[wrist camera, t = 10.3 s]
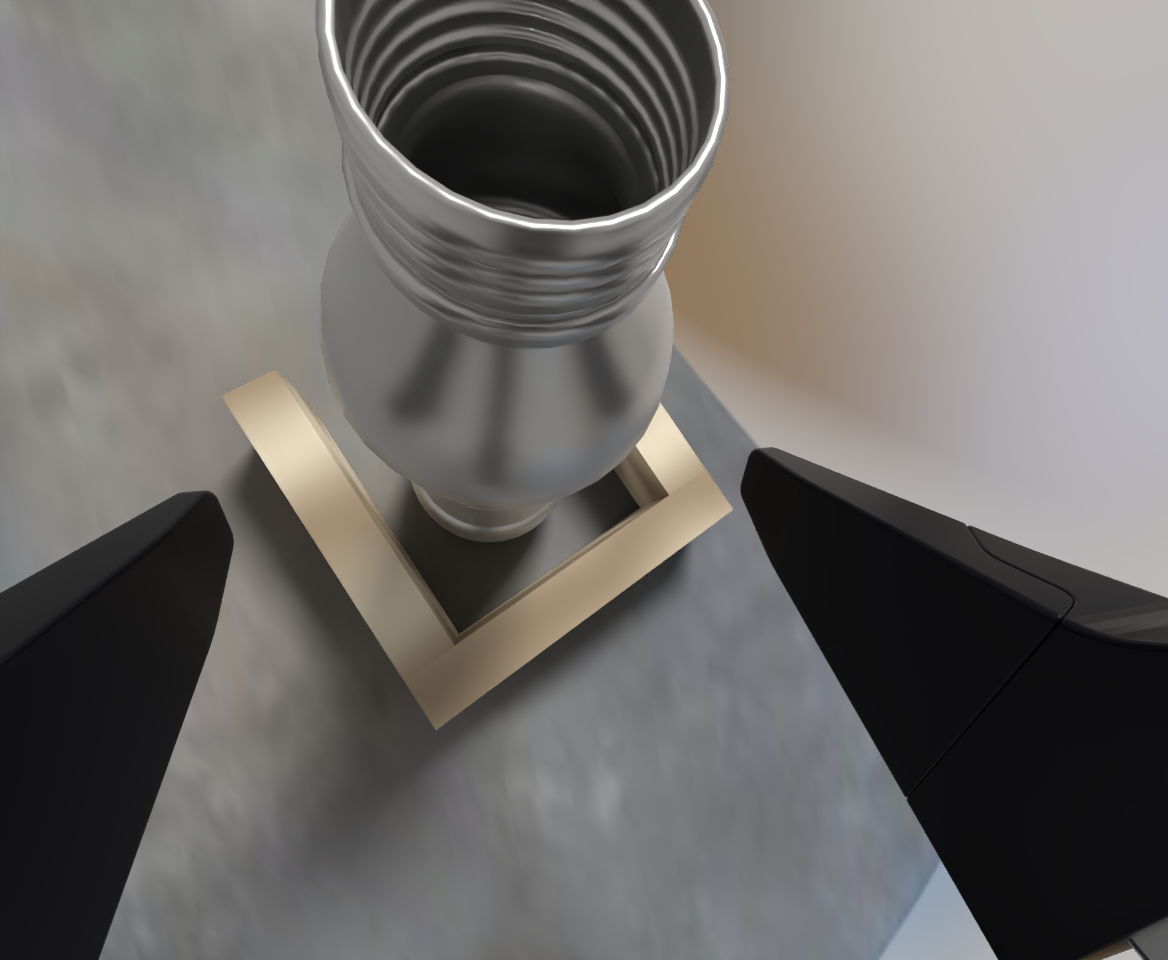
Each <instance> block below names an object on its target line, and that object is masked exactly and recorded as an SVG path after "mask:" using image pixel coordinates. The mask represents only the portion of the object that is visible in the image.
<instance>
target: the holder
mask: <svg viewBox="0 0 1168 960" xmlns="http://www.w3.org/2000/svg"><path fill="white" fill-rule="evenodd" d="M222 398H223V399H224V401H225V403H226V404H227V406H228V407H229V409H230V410H231V412H232V413H233V415H234V417H235V418H236V420H237V421H238V423H239V424H240V426H241V427H242V429H243V431H244V432H245V434H246V435H247V437H248V438H249V440H250V442H251V443H252V445H253V446H254V448H255V449H256V451H257V452H258V454H259V456H260V457H261V459H262V460H263V462H264V463H265V465H266V467H267V468H268V470H269V471H270V473H271V474H272V476H273V477H274V479H275V481H276V482H277V484H278V485H279V487H280V488H281V490H282V491H283V493H284V495H285V496H286V498H287V499H288V501H289V502H290V504H291V506H292V507H293V509H294V510H295V512H296V513H297V515H298V516H299V518H300V520H301V521H302V523H303V524H304V526H305V527H306V529H307V531H308V532H309V534H310V535H311V537H312V538H313V540H314V541H315V543H316V545H317V546H318V548H319V549H320V551H321V552H322V554H323V555H324V557H325V559H326V560H327V562H328V563H329V565H330V566H331V568H332V570H333V571H334V573H335V574H336V576H337V577H338V579H339V580H340V582H341V584H342V585H343V587H344V588H345V590H346V591H347V593H348V595H349V596H350V598H351V599H352V601H353V602H354V604H355V605H356V607H357V609H358V610H359V612H360V613H361V615H362V616H363V618H364V619H365V621H366V623H367V624H368V626H369V627H370V629H371V630H372V632H373V634H374V635H375V637H376V638H377V640H378V641H379V643H380V644H381V646H382V648H383V649H384V651H385V652H386V654H387V655H388V657H389V659H390V660H391V662H392V663H393V665H394V666H395V668H396V669H397V671H398V673H399V674H400V676H401V677H402V679H403V680H404V682H405V683H406V685H407V687H408V688H409V690H410V691H411V693H412V694H413V696H414V698H415V699H416V701H417V702H418V704H419V705H420V707H421V708H422V710H423V712H424V713H425V715H426V716H427V718H428V719H429V721H430V723H431V724H432V726H433V727H434V729H435V730H437V729H439V728H440V727H441V726H443V725H444V724H445V723H447V722H448V721H449V720H451V719H452V718H453V717H455V716H456V715H457V714H459V713H460V712H461V711H463V710H464V709H465V708H467V707H468V706H469V705H471V704H472V703H474V702H475V701H476V700H478V699H479V698H480V697H482V696H483V695H484V694H486V693H487V692H488V691H490V690H491V689H492V688H494V687H495V686H496V685H498V684H499V683H500V682H502V681H503V680H504V679H506V678H507V677H509V676H510V675H511V674H513V673H514V672H515V671H517V670H518V669H519V668H521V667H522V666H523V665H525V664H526V663H527V662H529V661H530V660H531V659H533V658H534V657H535V656H537V655H538V654H539V653H541V652H542V651H543V650H545V649H546V648H548V647H549V646H550V645H552V644H553V643H554V642H556V641H557V640H558V639H560V638H561V637H562V636H564V635H565V634H566V633H568V632H569V631H570V630H572V629H573V628H574V627H576V626H577V625H578V624H580V623H581V622H583V621H584V620H585V619H587V618H588V617H589V616H591V615H592V614H593V613H595V612H596V611H597V610H599V609H600V608H601V607H603V606H604V605H605V604H607V603H608V602H609V601H611V600H612V599H613V598H615V597H616V596H618V595H619V594H620V593H622V592H623V591H624V590H626V589H627V588H628V587H630V586H631V585H632V584H634V583H635V582H636V581H638V580H639V579H640V578H642V577H643V576H644V575H646V574H647V573H648V572H650V571H651V570H652V569H654V568H655V567H657V566H658V565H659V564H661V563H662V562H663V561H665V560H666V559H667V558H669V557H670V556H671V555H673V554H674V553H675V552H677V551H678V550H679V549H681V548H682V547H683V546H685V545H686V544H687V543H689V542H690V541H692V540H693V539H694V538H696V537H697V536H698V535H700V534H701V533H702V532H704V531H705V530H706V529H708V528H709V527H710V526H712V525H713V524H714V523H716V522H717V521H718V520H720V519H721V518H722V517H724V516H725V515H726V514H728V513H729V512H731V511H732V510H733V508H732V507H731V506H730V504H729V503H728V501H727V500H726V498H725V497H724V495H723V494H722V492H721V491H720V489H719V488H718V487H717V485H716V484H715V482H714V481H713V479H712V478H711V476H710V475H709V473H708V472H707V470H706V469H705V468H704V466H703V465H702V463H701V462H700V460H699V459H698V457H697V456H696V454H695V453H694V451H693V450H692V448H691V447H690V446H689V444H688V443H687V441H686V440H685V438H684V437H683V435H682V434H681V432H680V431H679V429H678V428H677V427H676V425H675V424H674V422H673V421H672V419H671V418H670V416H669V415H668V413H667V412H666V410H665V409H664V408H663V406H662V405H661V403H659V407H658V409H657V411H656V413H655V415H654V417H653V419H652V421H651V423H650V424H649V426H648V428H647V430H646V432H645V434H644V436H643V437H642V438H641V440H640V441H639V442H638V443H637V444H636V446H635V447H634V448H633V449H632V451H631V452H630V453H629V454H628V456H627V457H626V458H625V459H624V460H623V461H622V462H621V463H620V464H618V465H617V466H616V467H615V468H613V469H614V470H615V472H616V473H617V475H618V476H619V478H620V479H621V481H622V482H623V484H624V485H625V487H626V488H627V490H628V491H629V493H630V494H631V495H632V497H633V498H634V500H635V501H636V503H637V504H638V506H639V507H640V508H639V509H638V510H636V511H635V512H633V513H632V514H630V515H629V516H627V517H626V518H625V519H623V520H622V521H620V522H619V523H617V524H616V525H615V526H613V527H612V528H610V529H609V530H607V531H606V532H604V533H603V534H602V535H600V536H599V537H597V538H596V539H594V540H593V541H592V542H590V543H589V544H587V545H586V546H584V547H583V548H582V549H580V550H579V551H577V552H576V553H574V554H573V555H571V556H570V557H569V558H567V559H566V560H564V561H563V562H561V563H560V564H559V565H557V566H556V567H554V568H553V569H551V570H550V571H549V572H547V573H546V574H544V575H543V576H541V577H540V578H538V579H537V580H536V581H534V582H533V583H531V584H530V585H528V586H527V587H526V588H524V589H523V590H521V591H520V592H518V593H517V594H516V595H514V596H513V597H511V598H510V599H508V600H507V601H505V602H504V603H503V604H501V605H500V606H498V607H497V608H495V609H494V610H493V611H491V612H490V613H488V614H487V615H485V616H484V617H483V618H481V619H480V620H478V621H477V622H475V623H474V624H472V625H471V626H470V627H468V628H467V629H465V630H464V631H462V632H461V633H460V634H459V633H458V631H457V630H456V628H455V627H454V625H453V624H452V622H451V621H450V619H449V617H448V616H447V614H446V613H445V611H444V610H443V608H442V607H441V605H440V604H439V602H438V600H437V599H436V597H435V596H434V594H433V593H432V591H431V590H430V588H429V587H428V585H427V584H426V582H425V580H424V579H423V577H422V576H421V574H420V573H419V571H418V570H417V568H416V567H415V565H414V563H413V562H412V560H411V559H410V557H409V556H408V554H407V553H406V551H405V550H404V548H403V547H402V545H401V543H400V542H399V540H398V539H397V537H396V536H395V534H394V533H393V531H392V530H391V528H390V527H389V525H388V523H387V522H386V520H385V519H384V517H383V516H382V514H381V513H380V511H379V510H378V508H377V506H376V505H375V503H374V502H373V500H372V499H371V497H370V496H369V494H368V493H367V491H366V490H365V488H364V486H363V485H362V483H361V482H360V480H359V479H358V477H357V476H356V474H355V473H354V471H353V469H352V468H351V466H350V465H349V463H348V462H347V460H346V459H345V457H344V456H343V454H342V453H341V451H340V449H339V448H338V446H337V445H336V443H335V442H334V440H333V439H332V437H331V436H330V434H329V433H328V431H327V429H326V428H325V426H324V425H323V423H322V422H321V420H320V419H319V417H318V416H317V414H316V412H315V411H314V409H313V408H312V406H311V405H310V404H309V403H308V402H307V401H306V400H305V399H304V398H303V397H302V396H301V395H300V394H299V393H298V392H297V391H296V390H295V389H294V388H293V387H292V386H291V385H290V384H289V383H288V381H287V380H286V379H285V378H284V377H283V376H282V375H281V374H280V373H279V372H278V371H277V370H276V369H275V370H273V371H271V372H269V373H267V374H265V375H263V376H261V377H259V378H257V379H255V380H253V381H251V382H249V383H247V384H245V385H243V386H241V387H239V388H237V389H235V390H233V391H231V392H229V393H226V394H224V395H222Z"/></svg>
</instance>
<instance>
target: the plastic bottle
mask: <svg viewBox="0 0 1168 960" xmlns="http://www.w3.org/2000/svg"><path fill="white" fill-rule="evenodd" d="M316 35H317V39H318V57H319V61H320V66H321V70H322V74H323V78H324V83H325V87H326V91H327V96H328V99H329V102H330V105H331V108H332V111H333V114H334V117H335V120H336V123H337V127H338V130H339V134H340V137H341V140H342V169H343V173H344V178H345V182H346V186H347V190H348V195H349V199H350V203H351V206H352V210H351V211H350V212H349V214H348V215H347V216H346V218H345V219H344V220H343V222H342V224H341V226H340V228H339V231H338V233H337V235H336V237H335V239H334V241H333V243H332V245H331V247H330V249H329V252H328V256H327V261H326V265H325V269H324V274H323V278H322V283H321V349H322V354H323V359H324V363H325V368H326V372H327V377H328V381H329V384H330V386H331V388H332V390H333V393H334V395H335V397H336V399H337V401H338V404H339V406H340V408H341V410H342V412H343V415H344V416H345V418H346V419H347V420H348V422H349V423H350V424H351V426H352V427H353V428H354V430H355V431H356V433H357V434H358V435H359V437H360V438H361V439H362V441H363V442H364V443H365V445H366V446H367V447H368V448H369V449H370V450H372V451H373V452H374V453H375V454H376V455H377V456H378V457H379V458H380V459H381V460H383V461H384V462H385V463H386V464H387V465H388V466H389V467H390V468H391V469H393V470H394V471H395V472H397V473H398V474H400V475H402V476H403V477H405V478H406V479H408V480H410V481H411V482H412V486H413V489H414V491H415V493H416V495H417V498H418V500H419V502H420V504H421V505H422V506H423V508H424V509H425V510H426V512H427V513H428V514H429V516H430V517H431V518H432V519H434V520H435V521H436V522H437V523H438V524H439V525H440V526H441V527H443V528H444V529H446V530H448V531H450V532H451V533H453V534H455V535H457V536H460V537H463V538H466V539H469V540H472V541H480V542H498V541H505V540H509V539H512V538H516V537H519V536H521V535H523V534H525V533H527V532H529V531H530V530H532V529H534V528H535V527H536V526H537V525H539V524H540V523H541V522H542V521H544V520H545V519H546V517H547V516H548V515H549V514H550V513H551V511H552V510H553V509H554V508H555V506H556V504H557V502H558V500H559V499H562V498H564V497H567V496H570V495H572V494H574V493H576V492H577V491H579V490H581V489H583V488H585V487H587V486H589V485H591V484H593V483H595V482H597V481H599V480H600V479H601V478H602V477H604V476H605V475H606V474H607V473H609V472H610V471H611V470H612V469H613V468H615V467H616V466H617V465H618V464H620V463H621V462H622V461H623V460H624V459H625V458H626V457H627V456H628V454H629V453H630V452H631V451H632V449H633V448H634V447H635V446H636V444H637V443H638V442H639V441H640V440H641V438H642V437H643V436H644V434H645V432H646V430H647V428H648V426H649V424H650V423H651V421H652V419H653V417H654V415H655V413H656V411H657V409H658V407H659V403H660V400H661V396H662V393H663V389H664V386H665V382H666V378H667V374H668V370H669V365H670V361H671V356H672V344H673V332H674V320H673V311H672V303H671V294H670V291H669V287H668V284H667V281H666V278H665V274H664V271H663V270H664V268H665V266H666V264H667V262H668V261H669V259H670V257H671V255H672V254H673V252H674V250H675V248H676V246H677V242H678V239H679V236H680V232H681V229H682V226H683V222H684V215H685V213H686V212H687V210H688V208H689V206H690V204H691V203H692V201H693V199H694V198H695V196H696V194H697V193H698V191H699V189H700V187H701V185H702V184H703V182H704V180H705V178H706V177H707V175H708V173H709V171H710V170H711V168H712V166H713V164H714V160H715V157H716V153H717V150H718V147H719V145H720V142H721V139H722V135H723V132H724V128H725V125H726V122H727V118H728V114H729V102H730V85H731V79H730V72H729V65H728V58H727V51H726V46H725V43H724V40H723V37H722V34H721V32H720V28H719V26H718V22H717V19H716V16H715V14H714V12H713V10H712V9H711V7H710V5H709V3H708V1H707V0H316Z"/></svg>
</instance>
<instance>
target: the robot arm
mask: <svg viewBox="0 0 1168 960" xmlns="http://www.w3.org/2000/svg"><path fill="white" fill-rule="evenodd" d="M741 496H742V499H743V501H744V503H745V506H746V508H747V510H748V513H749V515H750V517H751V519H752V522H753V524H754V526H755V529H756V531H757V533H758V536H759V538H760V540H761V542H762V545H763V547H764V549H765V551H766V554H767V556H768V558H769V560H770V562H771V564H772V566H773V567H774V569H775V571H776V573H777V575H778V577H779V578H780V580H781V582H782V583H783V585H784V587H785V589H786V590H787V592H788V594H789V596H790V597H791V599H792V601H793V603H794V604H795V606H796V608H797V610H798V611H799V613H800V615H801V617H802V618H803V620H804V622H805V624H806V625H807V627H808V629H809V631H810V632H811V634H812V636H813V637H814V639H815V641H816V643H817V644H818V646H819V648H820V650H821V651H822V653H823V655H824V657H825V658H826V660H827V662H828V664H829V665H830V667H831V669H832V671H833V672H834V674H835V676H836V678H837V679H838V681H839V683H840V684H841V686H842V688H843V690H844V691H845V693H846V695H847V697H848V698H849V700H850V702H851V704H852V705H853V707H854V709H855V711H856V712H857V714H858V716H859V718H860V719H861V721H862V723H863V725H864V726H865V728H866V730H867V732H868V733H869V735H870V737H871V738H872V740H873V742H874V744H875V745H876V747H877V749H878V751H879V752H880V754H881V756H882V758H883V759H884V761H885V763H886V765H887V766H888V768H889V770H890V772H891V773H892V775H893V777H894V779H895V780H896V782H897V784H898V786H899V787H900V789H901V791H902V792H903V794H904V796H905V797H908V798H907V802H908V804H909V805H910V807H911V809H912V811H913V812H914V814H915V816H916V817H917V819H918V821H919V823H920V824H921V826H922V828H923V830H924V831H925V833H926V835H927V837H928V838H929V840H930V842H931V844H932V845H933V847H934V849H935V851H936V852H937V854H938V856H939V858H940V859H941V861H942V863H943V865H944V866H945V868H946V870H947V871H948V873H949V875H950V877H951V878H952V880H953V882H954V884H955V885H956V887H957V889H958V891H959V892H960V894H961V896H962V898H963V899H964V901H965V903H966V905H967V906H968V908H969V910H970V912H971V913H972V915H973V917H974V919H975V920H976V922H977V924H978V925H979V927H980V929H981V931H982V932H983V934H984V936H985V938H986V940H987V941H988V943H989V945H990V946H991V948H992V950H993V952H994V954H995V955H996V957H997V959H998V960H1102V959H1104V958H1107V957H1110V956H1113V955H1115V954H1118V953H1121V952H1124V951H1126V950H1129V949H1132V948H1133V949H1134V950H1135V951H1136V952H1137V954H1138V955H1139V956H1140V957H1141V958H1142V960H1168V598H1166V597H1163V596H1160V595H1158V594H1155V593H1152V592H1149V591H1146V590H1143V589H1141V588H1138V587H1135V586H1132V585H1129V584H1126V583H1123V582H1121V581H1118V580H1115V579H1112V578H1109V577H1106V576H1104V575H1101V574H1098V573H1095V572H1092V571H1090V570H1087V569H1084V568H1081V567H1078V566H1075V565H1073V564H1070V563H1067V562H1064V561H1061V560H1059V559H1056V558H1053V557H1051V556H1048V555H1045V554H1042V553H1040V552H1037V551H1034V550H1031V549H1029V548H1026V547H1023V546H1021V545H1018V544H1016V543H1013V542H1011V541H1008V540H1006V539H1003V538H1000V537H998V536H995V535H992V534H990V533H987V532H985V531H983V530H980V529H978V528H975V527H973V526H966V524H964V523H962V522H960V521H957V520H955V519H952V518H950V517H947V516H945V515H942V514H940V513H937V512H935V511H932V510H930V509H927V508H925V507H922V506H920V505H917V504H915V503H912V502H910V501H907V500H905V499H902V498H900V497H897V496H895V495H892V494H890V493H887V492H885V491H882V490H880V489H877V488H875V487H872V486H870V485H867V484H865V483H862V482H860V481H857V480H855V479H852V478H850V477H847V476H845V475H842V474H840V473H837V472H834V471H832V470H830V469H827V468H825V467H822V466H820V465H817V464H815V463H812V462H810V461H807V460H805V459H802V458H800V457H797V456H795V455H792V454H790V453H787V452H785V451H782V450H780V449H777V448H773V447H769V448H757V449H754V450H753V451H751V453H750V454H749V457H748V461H747V464H746V468H745V471H744V475H743V479H742V482H741ZM233 546H234V539H233V534H232V531H231V528H230V526H229V524H228V521H227V519H226V517H225V514H224V512H223V510H222V507H221V505H220V503H219V501H218V499H217V497H216V496H215V495H214V493H212V492H210V491H194V492H182V493H178V494H176V495H174V496H172V497H171V498H169V499H167V500H165V501H163V502H162V503H160V504H158V505H156V506H155V507H153V508H151V509H149V510H147V511H146V512H144V513H142V514H140V515H139V516H137V517H135V518H133V519H131V520H130V521H128V522H126V523H124V524H122V525H121V526H119V527H117V528H115V529H114V530H112V531H110V532H108V533H106V534H105V535H103V536H101V537H99V538H98V539H96V540H94V541H92V542H90V543H89V544H87V545H85V546H83V547H81V548H80V549H78V550H76V551H74V552H73V553H71V554H69V555H67V556H65V557H64V558H62V559H60V560H58V561H57V562H55V563H53V564H51V565H49V566H48V567H46V568H44V569H42V570H41V571H39V572H37V573H35V574H33V575H32V576H30V577H28V578H26V579H24V580H23V581H21V582H19V583H17V584H16V585H14V586H12V587H10V588H8V589H7V590H5V591H3V592H1V593H0V960H99V957H100V954H101V952H102V949H103V946H104V943H105V940H106V938H107V935H108V932H109V929H110V926H111V924H112V921H113V918H114V915H115V912H116V910H117V907H118V904H119V901H120V898H121V895H122V893H123V890H124V887H125V884H126V881H127V879H128V876H129V873H130V870H131V867H132V865H133V862H134V859H135V856H136V853H137V851H138V848H139V845H140V842H141V839H142V837H143V834H144V831H145V828H146V825H147V822H148V820H149V817H150V814H151V811H152V808H153V806H154V803H155V800H156V797H157V794H158V792H159V789H160V786H161V783H162V780H163V778H164V775H165V772H166V769H167V766H168V763H169V761H170V758H171V755H172V752H173V749H174V747H175V744H176V741H177V738H178V735H179V733H180V730H181V727H182V724H183V721H184V719H185V716H186V713H187V710H188V707H189V705H190V702H191V699H192V696H193V693H194V690H195V688H196V685H197V682H198V679H199V676H200V674H201V671H202V668H203V665H204V662H205V660H206V657H207V654H208V651H209V648H210V645H211V642H212V639H213V636H214V633H215V629H216V625H217V621H218V617H219V612H220V607H221V603H222V598H223V593H224V589H225V584H226V579H227V575H228V570H229V565H230V561H231V556H232V551H233Z"/></svg>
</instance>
